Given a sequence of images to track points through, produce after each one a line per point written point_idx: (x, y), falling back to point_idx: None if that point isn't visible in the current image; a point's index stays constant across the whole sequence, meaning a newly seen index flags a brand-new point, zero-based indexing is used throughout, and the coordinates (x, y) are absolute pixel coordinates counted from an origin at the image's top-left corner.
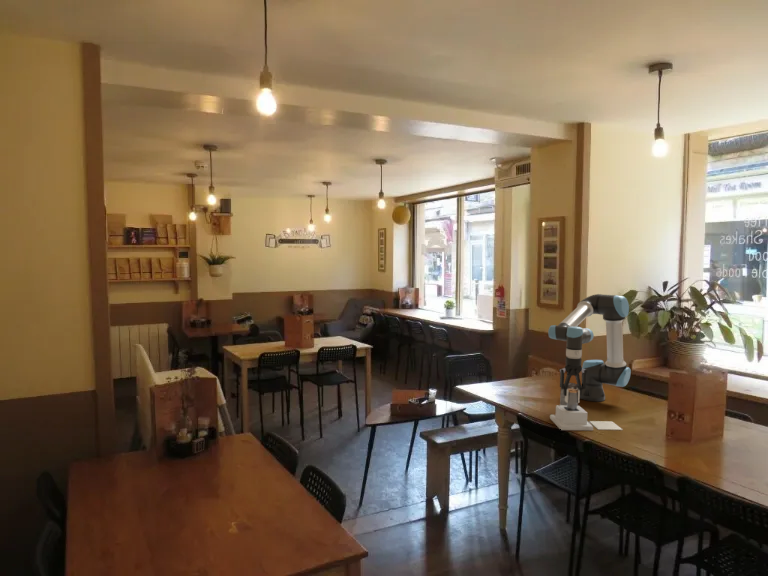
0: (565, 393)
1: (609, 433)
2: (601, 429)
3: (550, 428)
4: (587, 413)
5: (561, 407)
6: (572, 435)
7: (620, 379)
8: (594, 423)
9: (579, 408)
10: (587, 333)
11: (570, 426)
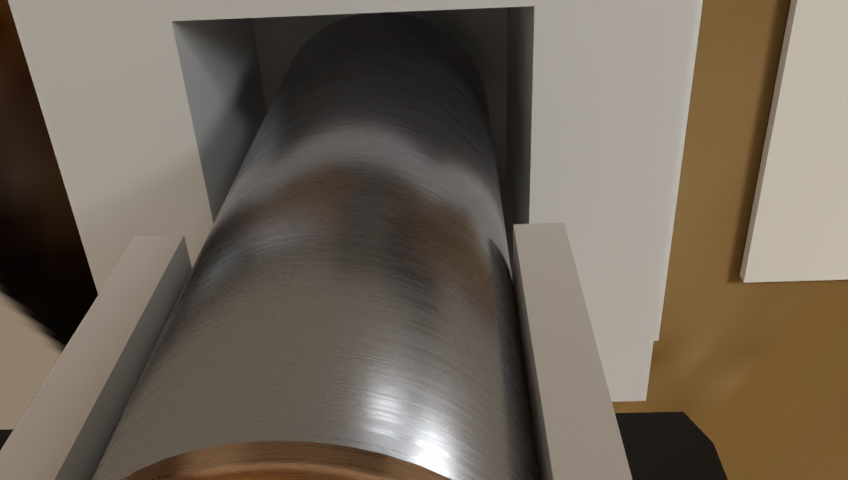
0: None
1: (816, 385)
2: (788, 278)
3: (24, 266)
4: (642, 389)
5: (121, 73)
6: None
7: None
8: (840, 24)
9: (600, 122)
10: None
11: None
